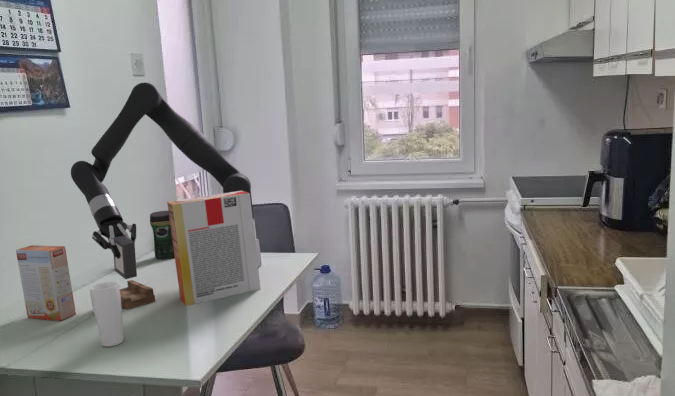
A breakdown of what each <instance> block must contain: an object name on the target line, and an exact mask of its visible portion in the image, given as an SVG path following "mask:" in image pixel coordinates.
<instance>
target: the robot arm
mask: <svg viewBox="0 0 675 396" xmlns="http://www.w3.org/2000/svg"><path fill="white" fill-rule="evenodd" d="M145 115H146V116H147V117H149V119H151V121H153V122H154V123H155V124H156V125H157V126H159V127H160V129H161V130H162V131H163V132H164V133H165V134H166V136H167V137H168V139H170V141H171V142H172V143H173V144H174V145H175V147H176V148H177V149H178V150H179V151H180V152H182V154H183V155H184V156H186V158H188V159H189V160H190V161H191V162H193V163H194V164H196V165H197V166H198V167H200V168H201V169H203V170H204V171H206V172H207V173H209V174H210V175H211V176H212V177H213V178H214V179H215V181H217V182H218V183H219V185H220V186H221V187H222V193H229V192H236V191H245V192H248V193H250V200H251V209H252V217H253V226H254V235H255V244H256V253H257V262H258V268H260V267H261V266H262V265H263V264H262V256H261V255H262V254H261V246H260V245H261V244H260V239H259V238H257V232H256V230H257V229H256V224H255V213H254V209H253V208H254V207H253V200H252V198H253V197H252V192H251V191H252V185H251V181H250V179H249V178H248V177H247V176H246V175H245V174H244V173H243V172H241V171H240V170H239V169H237V168H236V167H235V166H234V165H233V164H232V163H230V162H229V161H228V160H227V159H226V158H225V157H224V156H223V155H222V153H221V152H220V151H219V150H218V149H217V147H216V146H215V145H214V144H213V143H212V142H211V141H210V140H209V139H208V138H207V137H206V136H205V135H204V134H203V132H201V131H200V130H199V128H197V127H196V126H195V125H194V124H192V123H191V122H190V121H188V120H187V119H185V118H184V117H183V116H181V115H180V114H179V113H178V112H177V111H175V110H174V108H173V107H172V106H170V104H169V103H168V101H166V100H165V99H164V97H163V96H162V94H161V93H160V91H159V90H158V88H157V87H156V86H155V85H154V84H152V83H150V82H140V83H137V84H136V85H135V86H133V88H132V90H131V92H130V94H129V96H128V98H127V100H126V102H125V104H124V106H123V107H122V109H121V111H120V112H119V114H118V115H117V117H116V118H115V119H114V120H113V122H112V123H111V125H110V126H109V127H108V128H107V130H105V132H104V133H103V134H102V136H101V137H100V138H99V139H98V141H97V142H96V143H95V145H94V146H93V147H92V149H91V153H90V154H91V155H92V156H93V158H94V161H93V164H92V163H90V162H88V161H85V160H79V161H76V162H74V163H73V165H72V166H71V168H70V177H71V179H72V181H73V183H74V184H75V186H76V187H77V188H78V189H79V191H80V192H81V193H82V194H83V196H84V197H85V200H86V203H87V204H88V206H89V210H90V212H91V216H92V217H93V219H94V221H95V223H96V226H97V227H98V230H97V231H95V230H94V231H93V232H92V235H91V237H92V238H91V239H93V240H94V242H95V243H96V244H98V245H99V247H101V248H102V249H103V250H108V249H109V250H111V253H112V254H113V255H112V256H113V257H114V256H115V257H117V259H118V258H120V256H121V254H120V252H119V249H118V247H117V245H115V241H114V238H115V237H117V236H121V235H123V236H126V237H127V238H129V239H130V240H131V241H133V242H134V243H135V242H136V239H137V224H136V223H132V224H131V225H130V224H127V223H126V222H125V221H124V219H123V216H122V214H121V213H120V211H119V208H118V206H117V205H116V203H115V200H113V198H112V196H111V194H110V192H109V190H108V188H107V187H106V185H105V184H104V183H103V181H104V180H105V178H106V176H107V173H108V171H109V168H110V167H111V164H112V161H113V160H114V158H115V157H116V156H117V155H118V153H119V152H120V150H121V149H122V148H123V146H124V145H125V143H126V142H127V140H128V138H129V137H130V135H131V133H132V132H133V130H134V129H135V128H136V127H135V126H136V125H137V124H138V123H139V122H140V121H141V119H143V118H144V116H145ZM127 230H128V232H129V233H130V236H129V234H128V232H127ZM106 238H107V240H106ZM135 244H136V243H135Z"/></svg>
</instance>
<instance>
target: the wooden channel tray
mask: <svg viewBox="0 0 675 396" xmlns="http://www.w3.org/2000/svg"><path fill="white" fill-rule="evenodd" d="M126 283H127V287H123V288H119V289H120V295H121V306H122V308H123V309H124V310H126V311H127V310H130V309H134V308H137V307H140V306H141V307H142V306H144V305H148V304H150V303H154V302H156V295H155V294H154V293H155V292H154V288H153V287H150V286H147V285H145V284H143V283H141V282H138V281H135V280H133V279H129V280H127V281H126Z"/></svg>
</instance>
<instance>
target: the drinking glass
mask: <svg viewBox="0 0 675 396" xmlns="http://www.w3.org/2000/svg"><path fill="white" fill-rule="evenodd" d="M120 289H121V288H120V285H119V282H117V281H106V282H100V283H96V284H94V285H92V286H90V287H89V291H90V292H89V293H90V294H89V295H90V301H91V307H92V310H93V314H94V318H95V321H96V325H97V329H98V333H99V337H100V343H101V345H102V346H103V347H107V348H109V347H115V346H118V345H120V344H122V343H123V342H124V340H125V336H124V325H123V311H122V310H123V309H122V306H121V295H120Z"/></svg>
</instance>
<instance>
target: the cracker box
mask: <svg viewBox="0 0 675 396" xmlns="http://www.w3.org/2000/svg"><path fill="white" fill-rule="evenodd" d="M15 253H16V258H17V259H16V260H17V264H18V270H19V275H20V281H21V282H20V283H21V287H22V292H23V299H24V305H25V309H26V310H25V311H26V315H27V318H29V319H34V320H35V319H37V320H47V321H57V322H61V321H64V320H66V319H69V318H70V317H73V316H75V315H77V313H76V304H75V299H74V293H73V287H72V283H71V282H72V280H71V275H70V269H69V262H68V257H67V251H66V246H65V245H37V244H36V245H28V246H25V247H21V248H19V249H16V250H15Z"/></svg>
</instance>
